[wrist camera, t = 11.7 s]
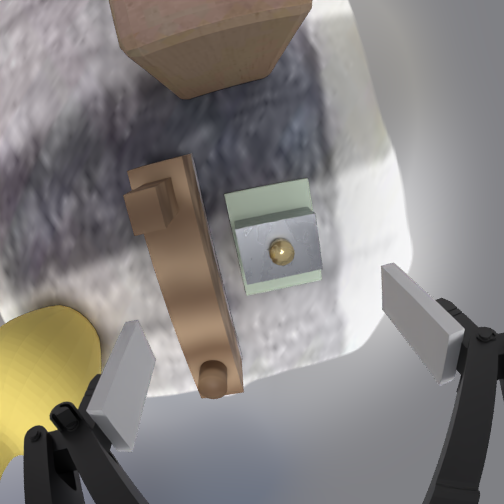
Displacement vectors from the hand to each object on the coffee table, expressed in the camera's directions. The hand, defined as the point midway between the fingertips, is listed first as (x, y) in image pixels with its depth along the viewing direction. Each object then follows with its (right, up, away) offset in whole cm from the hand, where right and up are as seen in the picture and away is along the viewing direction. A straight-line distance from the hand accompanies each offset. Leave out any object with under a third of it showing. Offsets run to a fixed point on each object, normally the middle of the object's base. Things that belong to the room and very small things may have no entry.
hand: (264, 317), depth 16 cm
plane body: (-7, +1, +21) cm, 22 cm away
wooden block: (-5, +25, +13) cm, 28 cm away
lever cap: (+2, +5, +19) cm, 20 cm away
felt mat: (+2, +5, +20) cm, 21 cm away
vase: (-26, -9, +23) cm, 36 cm away
